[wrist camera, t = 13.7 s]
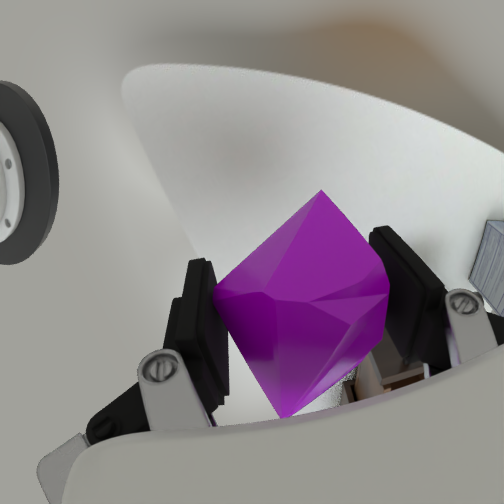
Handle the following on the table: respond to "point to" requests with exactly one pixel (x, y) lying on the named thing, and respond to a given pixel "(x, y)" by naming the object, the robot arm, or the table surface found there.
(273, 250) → the crystal
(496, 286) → the medicine box
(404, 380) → the drawer
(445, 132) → the table surface
